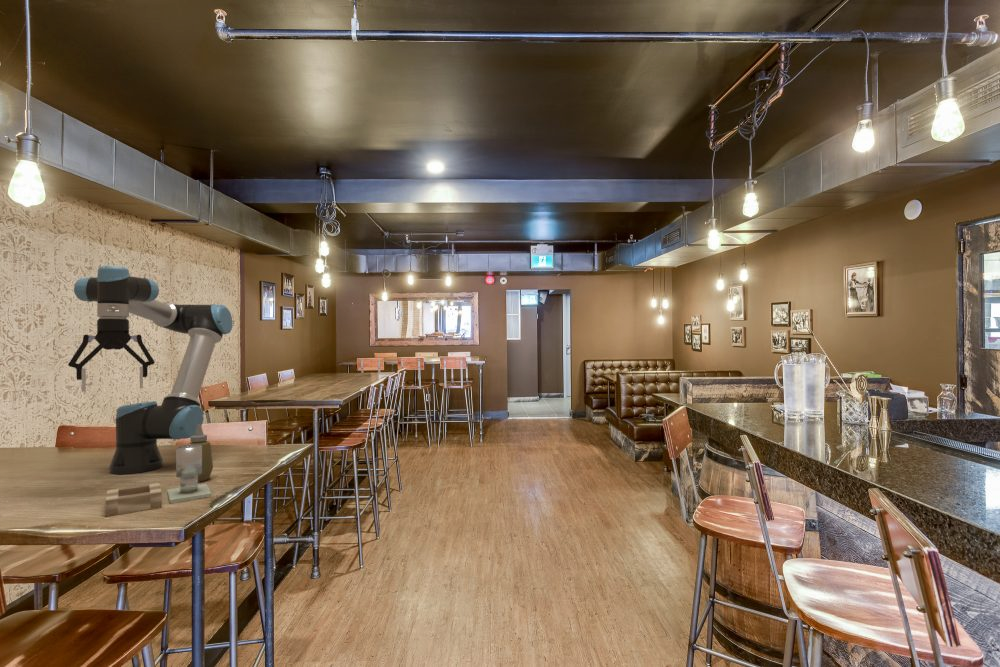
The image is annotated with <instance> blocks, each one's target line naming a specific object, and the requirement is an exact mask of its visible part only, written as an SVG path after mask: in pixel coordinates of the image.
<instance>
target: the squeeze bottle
mask: <svg viewBox="0 0 1000 667" xmlns="http://www.w3.org/2000/svg"><path fill="white" fill-rule="evenodd" d="M189 439H190V442H189V443H188V444H187V445H202V474H200V475H198V481H201V482H205V481H208V480H210V477H211V474H212V471H213V469H214V464H213V456H212V448H211V447H212V446H211V442H210V441H209V440H208V434H204V431H203V427H202V426H201V424H198V425H197V426H196V430H195V434H194V436H191V437H190V438H189ZM207 479H208V480H207ZM204 480H205V481H204Z"/></svg>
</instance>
